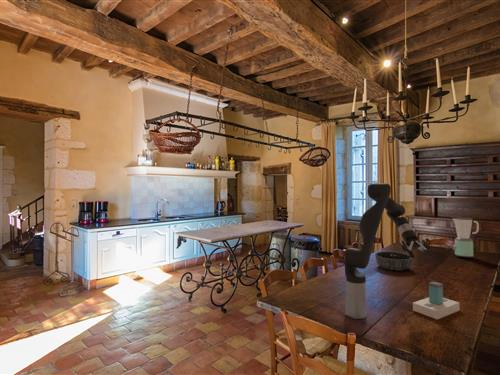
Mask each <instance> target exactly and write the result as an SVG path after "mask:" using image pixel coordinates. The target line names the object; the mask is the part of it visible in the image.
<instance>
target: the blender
mask: <svg viewBox="0 0 500 375" xmlns="http://www.w3.org/2000/svg"><path fill="white" fill-rule="evenodd" d="M451 219H452V221H453V223H454V227H455V231H456V235H457V237H456V238H455V239H454V245H452V250H453V251H454V254H455V256H456V258H467V259H469V260H471V258H473V257H474V241H473V239H472V238H471V237H472V235H475V234H478V232H479V229H480V224H479V222H478V220H477V221H476V220H474V218H470V217H465V216H464V217H463V216H461V217H451ZM474 223H476V230H475V231H473V227H474V226H473V225H474Z"/></svg>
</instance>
